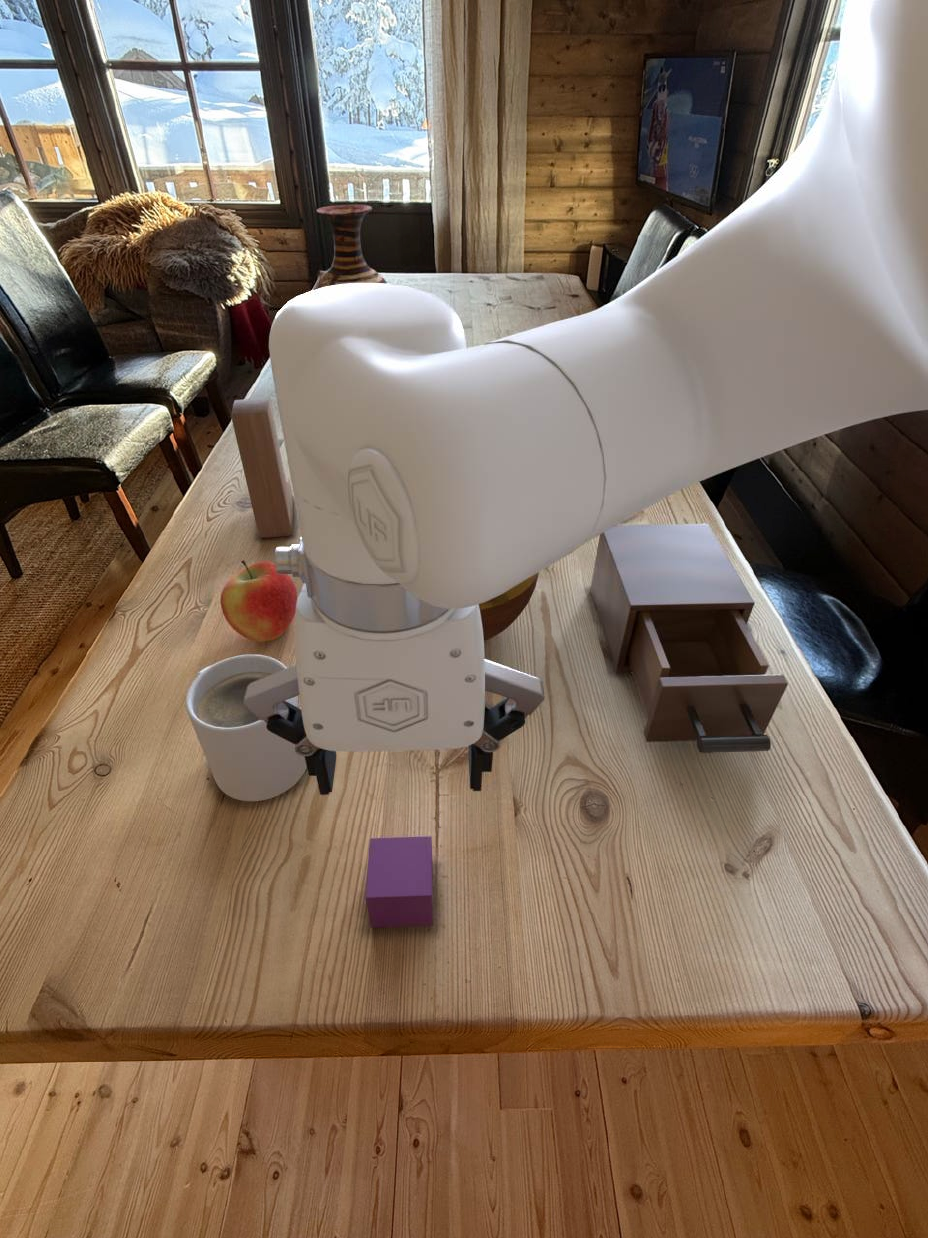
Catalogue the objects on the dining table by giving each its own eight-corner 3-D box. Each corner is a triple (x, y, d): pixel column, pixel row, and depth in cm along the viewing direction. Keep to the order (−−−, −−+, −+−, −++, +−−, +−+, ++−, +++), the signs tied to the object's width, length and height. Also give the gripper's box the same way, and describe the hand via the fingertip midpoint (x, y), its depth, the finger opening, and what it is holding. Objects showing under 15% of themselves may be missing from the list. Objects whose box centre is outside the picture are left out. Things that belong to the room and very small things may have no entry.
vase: (364, 405, 124) (347, 222, 105) (291, 385, 131) (262, 211, 112) (426, 369, 138) (421, 203, 119) (357, 353, 145) (341, 193, 126)
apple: (282, 662, 72) (264, 591, 66) (217, 647, 74) (194, 576, 68) (315, 617, 78) (302, 547, 72) (255, 603, 80) (237, 535, 73)
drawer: (782, 781, 60) (812, 726, 55) (659, 785, 60) (678, 730, 55) (715, 643, 74) (735, 589, 69) (615, 646, 74) (627, 591, 68)
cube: (432, 867, 54) (431, 835, 51) (433, 925, 51) (431, 895, 48) (374, 869, 54) (369, 838, 51) (371, 927, 51) (365, 898, 48)
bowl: (496, 570, 86) (500, 503, 79) (559, 659, 73) (569, 588, 67) (364, 600, 81) (356, 531, 74) (407, 701, 68) (402, 629, 62)
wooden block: (263, 505, 97) (236, 384, 85) (294, 502, 98) (272, 382, 86) (259, 539, 90) (229, 413, 79) (292, 536, 91) (268, 411, 79)
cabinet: (729, 670, 72) (755, 603, 66) (615, 673, 72) (630, 605, 65) (688, 587, 83) (708, 523, 77) (590, 589, 83) (601, 524, 76)
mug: (311, 793, 60) (294, 721, 53) (202, 811, 58) (170, 740, 52) (307, 704, 68) (291, 632, 61) (211, 719, 66) (185, 647, 60)
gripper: (185, 621, 29) (259, 829, 40) (573, 616, 30) (538, 822, 41) (225, 526, 35) (279, 732, 46) (550, 524, 35) (525, 727, 47)
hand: (402, 774), depth 44 cm, fingers open, 9 cm apart
